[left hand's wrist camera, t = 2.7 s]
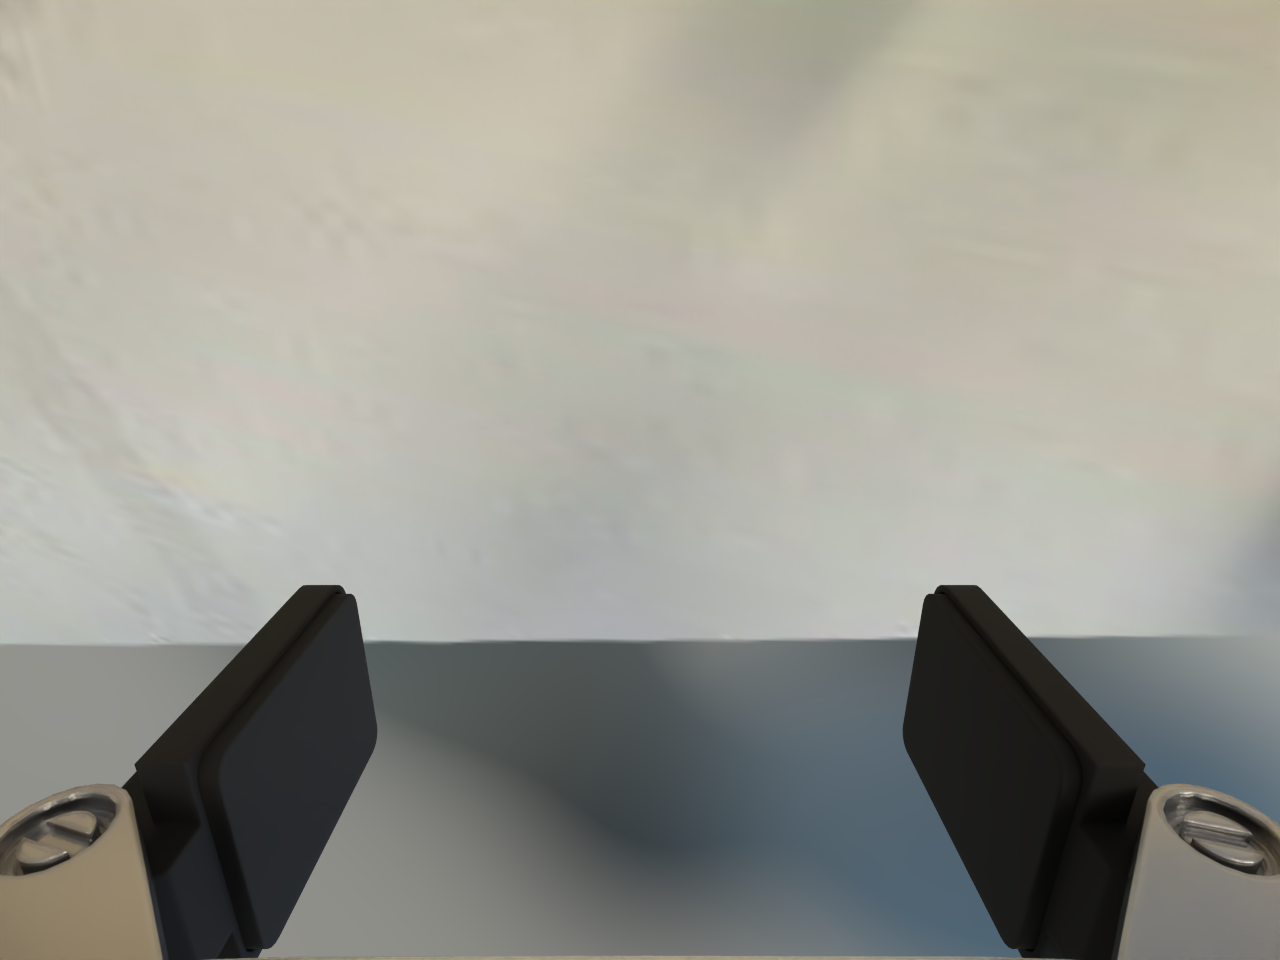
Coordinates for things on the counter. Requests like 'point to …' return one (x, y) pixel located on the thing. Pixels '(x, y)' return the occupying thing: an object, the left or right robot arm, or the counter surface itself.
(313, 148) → the counter surface
